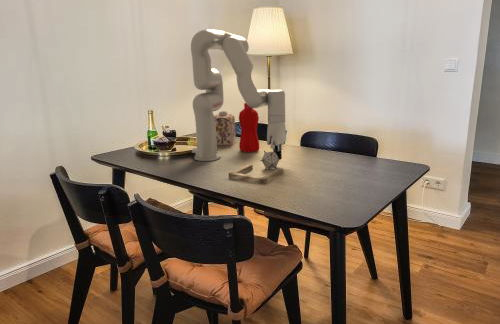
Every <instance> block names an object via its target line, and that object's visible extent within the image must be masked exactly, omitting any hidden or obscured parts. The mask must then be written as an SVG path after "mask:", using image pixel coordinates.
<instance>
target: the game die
mask: <svg viewBox="0 0 500 324" xmlns="http://www.w3.org/2000/svg"><path fill="white" fill-rule="evenodd" d="M263 152H264V154H263V156H262V158H261V159H260V160H259V162H262V164H263V165H264V167H265V168H264V171H266V170H267V169H275V170H277V169H278V168H277V166H278V164H279V161H281V160H282V159H279V158H278V156H277V154H276V153H275V152H276V150H275V151H274V152H273V151H266V150H263Z"/></svg>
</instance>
